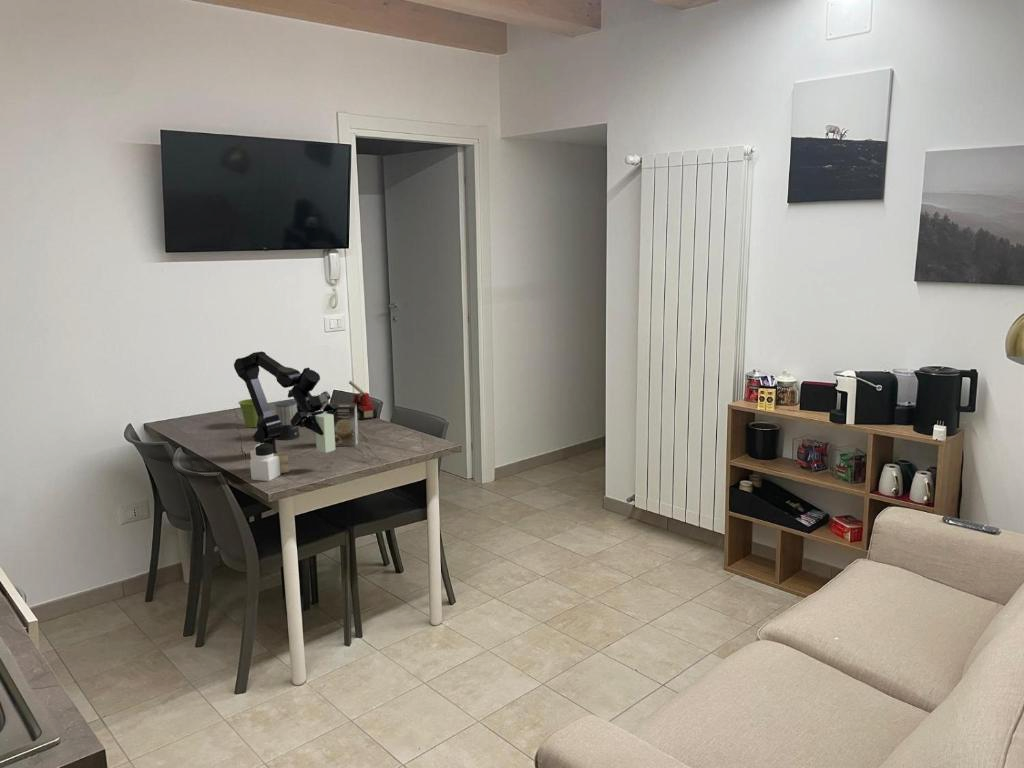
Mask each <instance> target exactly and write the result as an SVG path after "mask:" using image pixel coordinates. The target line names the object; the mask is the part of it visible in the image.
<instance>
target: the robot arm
mask: <svg viewBox="0 0 1024 768" xmlns="http://www.w3.org/2000/svg"><path fill="white" fill-rule="evenodd" d="M260 367H261V368H262V369H263V370H264V371H266V372H268V373H269V374H270V375H272V376H274V377H275V378H276V382H277V383H278V384H279V385H280V386H281V387H282V388H285V389H286V388H290V387H291V389H289V390H288V393H287V398H288V399H289V398H293V399H294V401H296V402H297V403H298V405H299V406H298V407H297V408H298V409H299V410H300V409H302V411H300V412H298V411H297V412H296V413H295V415H294V416H293V418H292V419H291V424H292V426H293V427H297V426H298V427H299V426H300V424H301V422H300V421H302V423H303V424H302V427H301V428H306V429H308V430H311V431H312V432H314V433H315V434H316V433H318V434H320V435H323V432H322V430H321V428H320V427H319V425H318V423H317V422H316V419H315V415H319V414H323V413H327V414H333V415H334V414H335V412H336V411H337V410H338V409H339V407H338V405H337V404H338V403H337V402H331V403H329V400H331V395H330V393H329V392H328V391H327V390H326V391H323V392H321V393H320V394H317V395H312V394H311V392H312V391H313V390H314V389H315V387H316V386H317V384H318V383H319V382H320V380H321V376H320V374H319V373H318V372H316V370H313V369H310V367H305V368H304V369H303V370H302V372H301V371H299V370H298V369H296V368H293V367H289V366H288V367H287V366H284V365H283V364H281V363H279V362H278V361H277V360H275V359H274V358H272V357H271V356H269V355H267V353H266V352H265V351H255V352H252V353H250V354H249V355H247V356H244V357H238V358H236V359H235V361H234V363H233V368H234V370H235V372H236V374H237V376H238V378H240V379H242V381H244V382H245V385H246V388H247V390H248V394H249V395H250V396H249V397H250V399H252V402H253V404H254V407H255V410H256V412H257V415H258V420H257V427H256V428H257V430H256V431H255V433H254V434H253V436H252V437H253V440H254V441H253V442H255V443H256V442H257V443H259V444H261V443H270V444H272V445H273V454H276V453H278V450H277V445H276V439H278V438H280V436H281V431H282V426H281V424H282V423H281V422H280V419H279V416H278V415H276V414H275V413H273V412H272V411H271V409H270V406H269V402H268V400H267V398H266V395H265V393H264V389H263V388H262V383H261V382H260V379H259V373H260ZM325 403H327V404H326V405H325ZM324 405H325V406H324ZM322 408H323V409H322Z"/></svg>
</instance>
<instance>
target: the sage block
mask: <svg viewBox="0 0 1024 768" xmlns="http://www.w3.org/2000/svg"><path fill="white" fill-rule="evenodd" d="M315 419H316V422H317V423H318V425H319V427H320V428H321V430H322V432H323V435H320V434H318V433H316V432H315V443H316V444H315V445H316V452H320V453H325V454H328V453H330V452H333V451H336V446H335V433H334V415H333V414H327V413H323V414H319V415H315Z"/></svg>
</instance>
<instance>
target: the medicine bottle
mask: <svg viewBox="0 0 1024 768" xmlns="http://www.w3.org/2000/svg"><path fill="white" fill-rule="evenodd" d="M254 449H255V457H256V458H254V459H252V460H251V459H250V460H249V465H250V475H251V480H252V481H263V482H270V481H273V480H274V479H276V478H278V477H280V476H281V473H280V462H279V456H273V455H274V454H273V445H272V444H270V443H261V444H260V443H258V444H256V445H255V446H254Z"/></svg>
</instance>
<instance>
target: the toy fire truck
mask: <svg viewBox="0 0 1024 768" xmlns="http://www.w3.org/2000/svg"><path fill="white" fill-rule="evenodd" d="M348 384H349V385H350V386H351V387H353V388H354V389H355V390H356V391H357V392H358V393H354V396H353V400H352V404H357V421H361V420H364V419H370V418H372V419H377V417H378V412H377V409H376V408H375V407H374V405H373V404H372V401H371V398H370V393H368V392H364V390H363V389H361V388H360V387H359V386H358V385H357V384H356V383H354V381H352V380H349V381H348Z"/></svg>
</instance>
